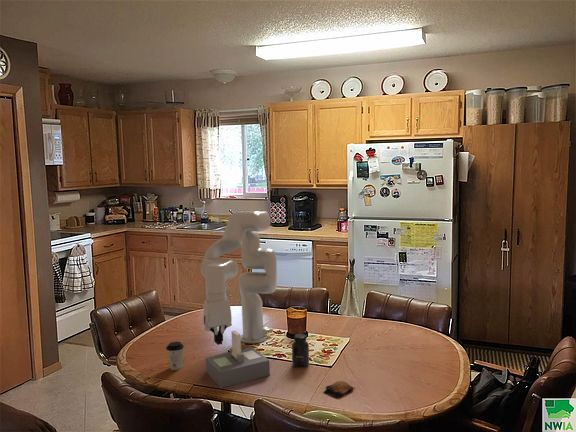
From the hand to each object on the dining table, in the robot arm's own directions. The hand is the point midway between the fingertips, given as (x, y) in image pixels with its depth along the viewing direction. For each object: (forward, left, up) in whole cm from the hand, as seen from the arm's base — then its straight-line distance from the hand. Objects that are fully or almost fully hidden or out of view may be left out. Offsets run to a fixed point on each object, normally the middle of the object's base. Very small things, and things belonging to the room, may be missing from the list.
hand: (218, 343), depth 185 cm
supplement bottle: (-32, +6, -14) cm, 36 cm away
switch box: (-7, 0, -14) cm, 16 cm away
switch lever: (-7, 0, -7) cm, 10 cm away
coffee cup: (+12, -19, -14) cm, 27 cm away
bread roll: (-32, +33, -15) cm, 48 cm away
